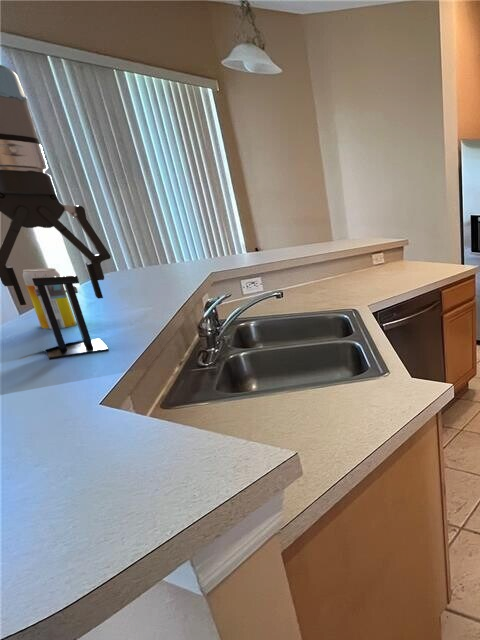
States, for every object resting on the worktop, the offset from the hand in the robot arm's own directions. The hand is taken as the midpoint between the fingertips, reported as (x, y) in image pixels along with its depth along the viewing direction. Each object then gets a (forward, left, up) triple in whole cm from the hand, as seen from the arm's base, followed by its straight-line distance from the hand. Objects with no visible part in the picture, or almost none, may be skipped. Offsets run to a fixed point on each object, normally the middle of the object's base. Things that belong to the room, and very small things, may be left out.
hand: (62, 300), depth 84 cm
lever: (-3, +3, +1) cm, 5 cm away
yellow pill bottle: (-25, +22, -13) cm, 36 cm away
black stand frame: (-7, +6, -12) cm, 15 cm away
